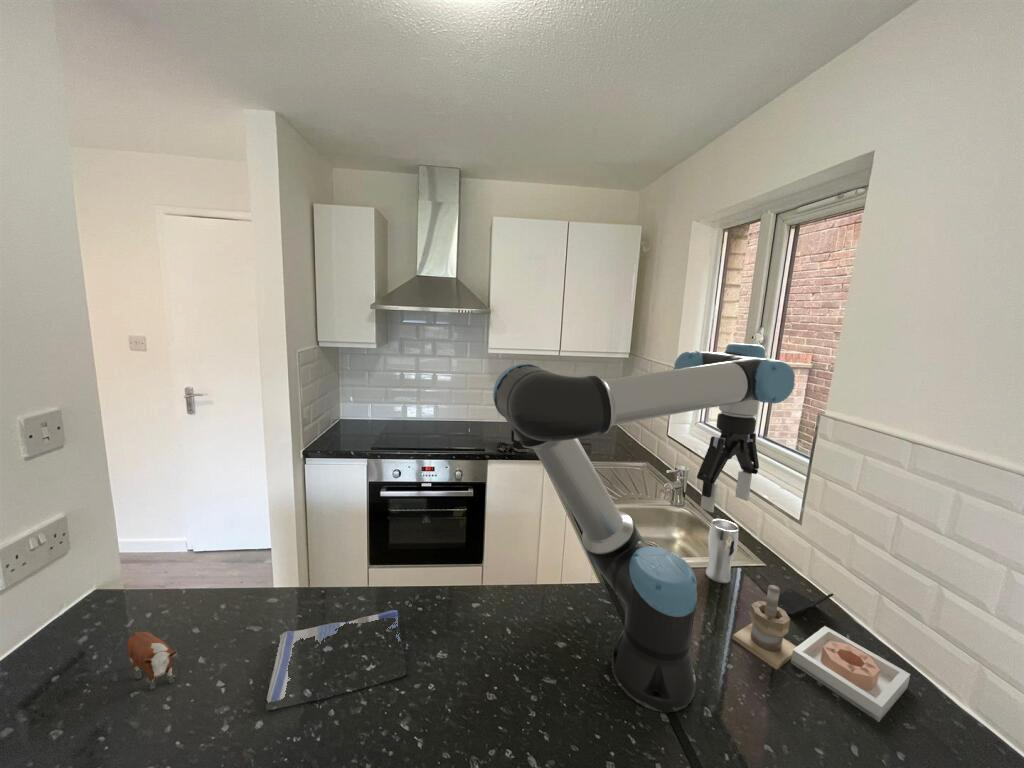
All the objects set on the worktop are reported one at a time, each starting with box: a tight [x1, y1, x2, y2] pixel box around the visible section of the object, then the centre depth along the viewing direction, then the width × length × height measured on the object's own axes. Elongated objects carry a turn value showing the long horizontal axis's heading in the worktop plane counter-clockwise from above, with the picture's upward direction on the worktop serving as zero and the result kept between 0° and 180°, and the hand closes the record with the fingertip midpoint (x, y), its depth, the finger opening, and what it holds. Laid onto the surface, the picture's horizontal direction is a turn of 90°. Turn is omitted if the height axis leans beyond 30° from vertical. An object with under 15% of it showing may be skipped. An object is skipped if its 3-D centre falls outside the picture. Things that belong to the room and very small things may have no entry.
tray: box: [790, 625, 911, 723], centre depth 80 cm, size 14×14×3 cm
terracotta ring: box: [821, 641, 880, 691], centre depth 79 cm, size 8×8×3 cm
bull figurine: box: [126, 631, 179, 683], centre depth 71 cm, size 4×13×8 cm, turn 58°
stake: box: [732, 584, 798, 670], centre depth 85 cm, size 9×9×14 cm
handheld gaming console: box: [777, 588, 834, 620], centre depth 98 cm, size 12×7×10 cm
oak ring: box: [749, 600, 791, 637], centre depth 85 cm, size 6×6×3 cm
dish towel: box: [266, 609, 401, 703], centre depth 78 cm, size 17×24×3 cm
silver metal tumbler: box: [705, 518, 740, 584], centre depth 109 cm, size 7×7×15 cm
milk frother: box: [496, 427, 529, 449], centre depth 208 cm, size 14×16×15 cm
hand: (724, 504), depth 93 cm, fingers open, 13 cm apart
